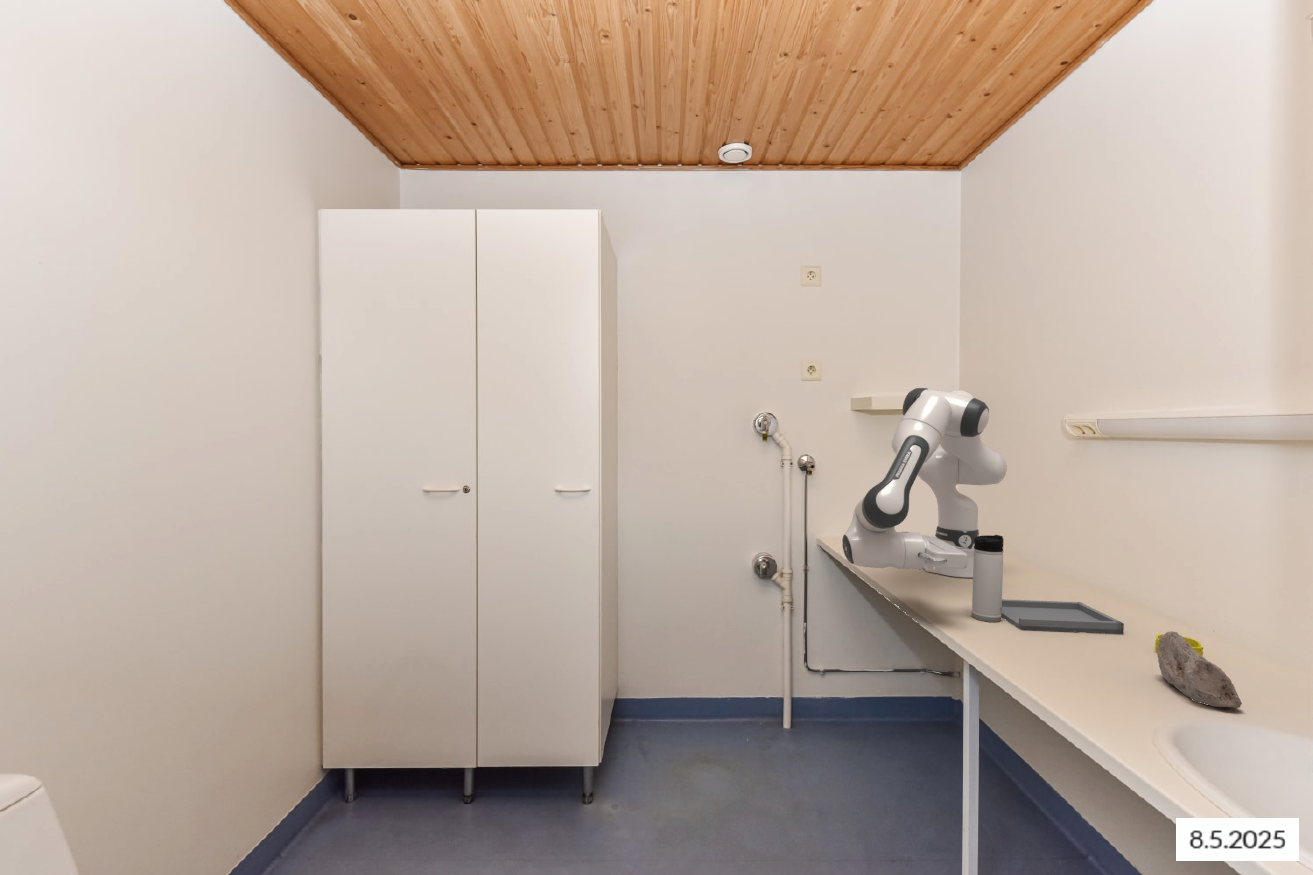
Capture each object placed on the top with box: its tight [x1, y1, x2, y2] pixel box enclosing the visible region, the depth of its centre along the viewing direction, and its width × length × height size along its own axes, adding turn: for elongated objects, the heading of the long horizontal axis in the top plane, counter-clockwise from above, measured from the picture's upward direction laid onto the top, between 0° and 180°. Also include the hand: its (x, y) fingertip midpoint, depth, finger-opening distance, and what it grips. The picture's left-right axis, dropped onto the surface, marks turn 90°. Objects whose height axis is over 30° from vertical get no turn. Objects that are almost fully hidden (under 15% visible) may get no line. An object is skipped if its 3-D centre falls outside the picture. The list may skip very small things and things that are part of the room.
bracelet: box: [1154, 633, 1204, 657], centre depth 125 cm, size 7×8×3 cm
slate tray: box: [1001, 598, 1125, 635], centre depth 146 cm, size 16×22×2 cm
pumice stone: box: [1156, 631, 1243, 709], centre depth 107 cm, size 15×8×10 cm, turn 162°
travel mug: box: [971, 534, 1004, 623], centre depth 147 cm, size 6×7×20 cm
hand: (971, 552), depth 147 cm, fingers closed
